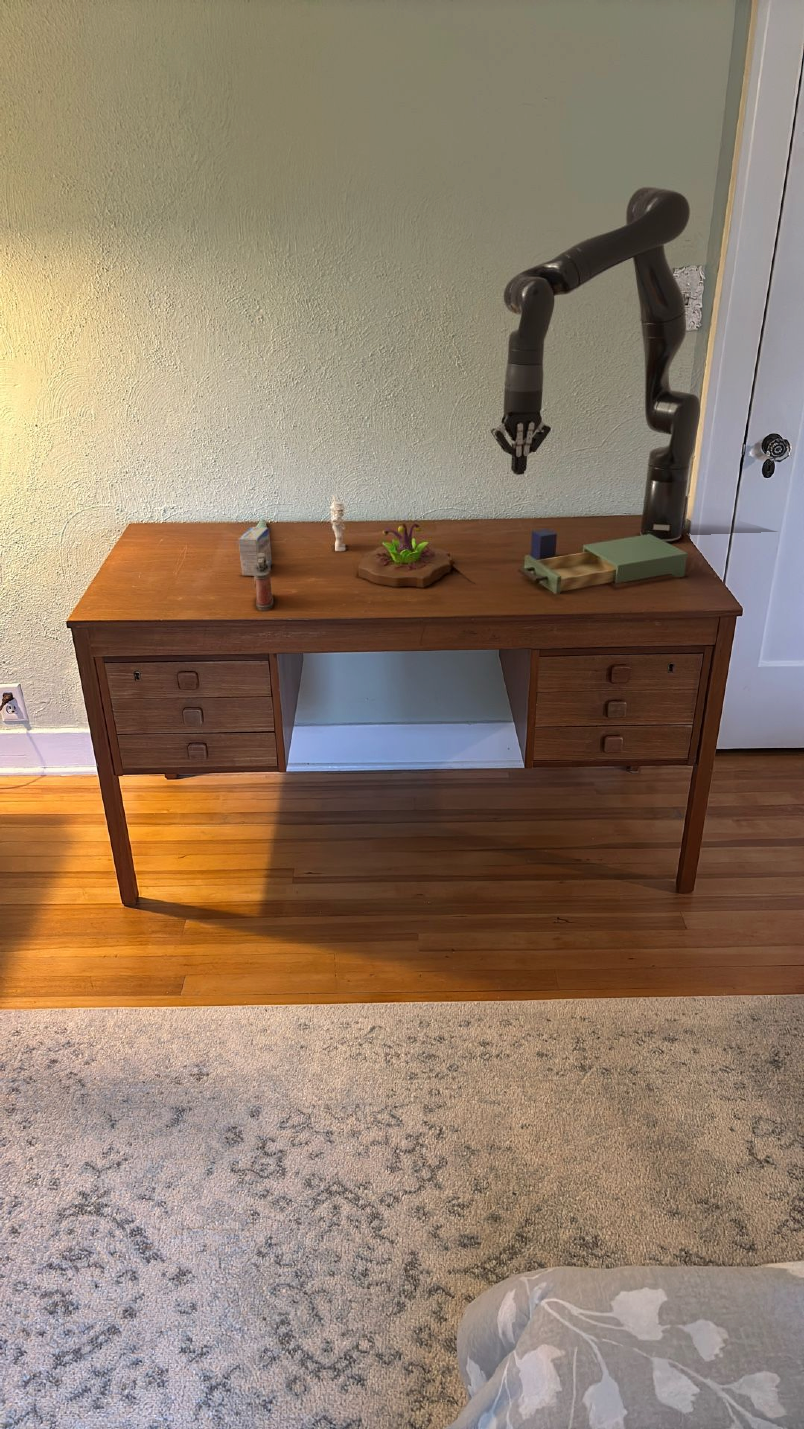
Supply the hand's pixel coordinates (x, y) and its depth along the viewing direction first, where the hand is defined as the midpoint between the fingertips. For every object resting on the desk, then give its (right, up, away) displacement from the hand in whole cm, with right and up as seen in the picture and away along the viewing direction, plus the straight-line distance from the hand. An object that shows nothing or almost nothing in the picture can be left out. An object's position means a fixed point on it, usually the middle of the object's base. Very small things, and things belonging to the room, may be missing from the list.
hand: (518, 473), depth 201 cm
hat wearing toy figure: (-38, -11, +27) cm, 48 cm away
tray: (+11, -21, +5) cm, 25 cm away
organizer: (+26, -19, +11) cm, 34 cm away
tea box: (+7, -16, +16) cm, 24 cm away
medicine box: (-56, -18, +15) cm, 61 cm away
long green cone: (-58, -9, +31) cm, 66 cm away
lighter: (-52, -27, -1) cm, 59 cm away
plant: (-23, -18, +13) cm, 33 cm away
